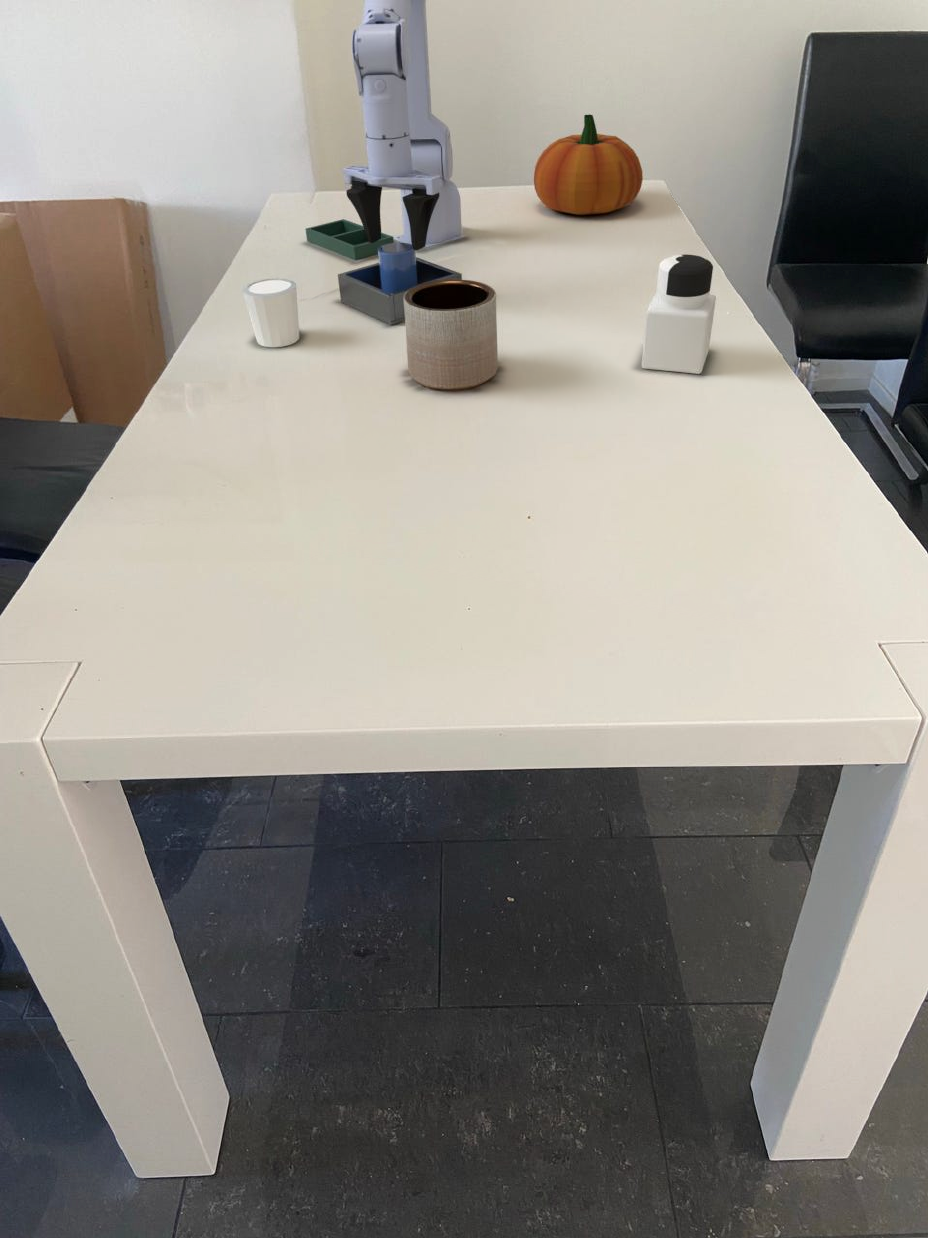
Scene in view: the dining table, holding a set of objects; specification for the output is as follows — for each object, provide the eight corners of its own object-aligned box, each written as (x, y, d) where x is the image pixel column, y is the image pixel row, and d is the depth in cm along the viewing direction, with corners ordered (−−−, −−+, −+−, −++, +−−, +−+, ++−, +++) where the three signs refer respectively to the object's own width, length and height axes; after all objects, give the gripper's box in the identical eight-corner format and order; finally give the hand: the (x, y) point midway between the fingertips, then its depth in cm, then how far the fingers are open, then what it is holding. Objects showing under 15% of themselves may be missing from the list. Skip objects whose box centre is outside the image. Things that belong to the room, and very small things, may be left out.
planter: (511, 362, 111) (511, 283, 105) (475, 398, 103) (473, 316, 97) (433, 350, 115) (428, 274, 109) (392, 384, 107) (385, 304, 101)
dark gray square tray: (410, 281, 136) (408, 253, 133) (463, 301, 128) (461, 273, 126) (340, 302, 130) (337, 274, 127) (391, 325, 122) (388, 295, 120)
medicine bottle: (708, 351, 111) (722, 251, 104) (701, 375, 106) (715, 271, 98) (651, 346, 113) (660, 247, 106) (640, 368, 108) (650, 266, 100)
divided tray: (345, 233, 156) (343, 218, 155) (394, 252, 147) (393, 236, 146) (307, 243, 153) (305, 228, 151) (355, 263, 143) (353, 247, 142)
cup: (397, 290, 131) (393, 239, 127) (426, 296, 129) (422, 245, 125) (375, 301, 128) (370, 250, 124) (403, 307, 126) (399, 255, 121)
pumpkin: (627, 190, 171) (634, 101, 162) (650, 218, 156) (658, 121, 147) (527, 196, 171) (527, 107, 161) (540, 225, 156) (541, 128, 146)
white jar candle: (309, 329, 122) (301, 276, 118) (297, 349, 117) (288, 295, 112) (260, 329, 123) (250, 277, 118) (246, 349, 118) (235, 295, 113)
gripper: (324, 136, 116) (337, 245, 125) (415, 145, 110) (423, 259, 118) (357, 125, 121) (368, 231, 129) (447, 134, 114) (452, 244, 123)
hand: (396, 244), depth 124 cm, fingers open, 7 cm apart
